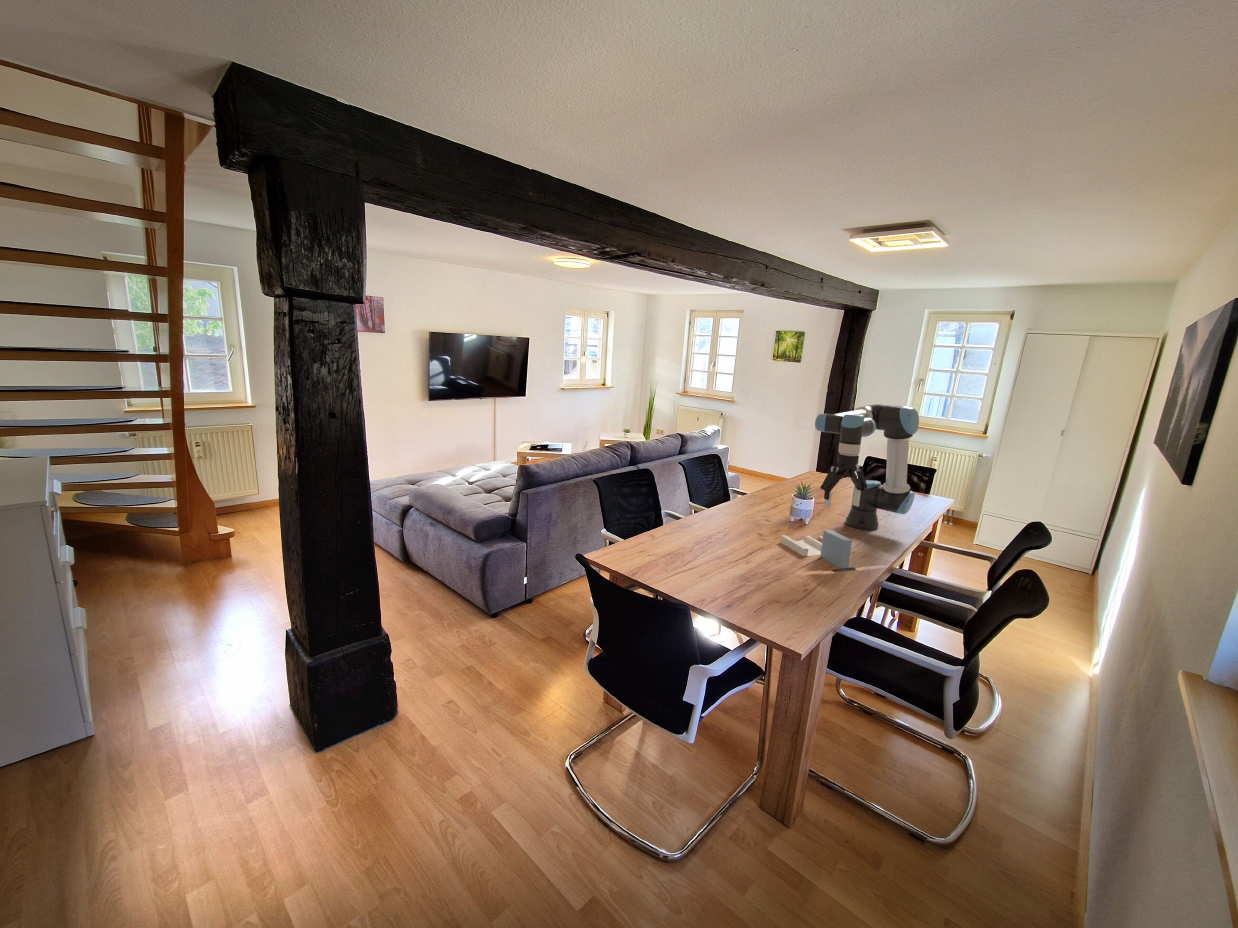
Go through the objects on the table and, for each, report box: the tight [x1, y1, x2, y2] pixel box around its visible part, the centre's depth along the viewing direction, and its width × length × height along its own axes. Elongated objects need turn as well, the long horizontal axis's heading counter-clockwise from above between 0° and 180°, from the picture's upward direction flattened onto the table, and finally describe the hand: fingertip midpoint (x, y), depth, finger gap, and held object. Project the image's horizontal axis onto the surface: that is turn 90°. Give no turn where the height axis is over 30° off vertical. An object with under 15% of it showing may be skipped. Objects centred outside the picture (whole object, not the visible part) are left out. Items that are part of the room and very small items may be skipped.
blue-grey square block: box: [820, 529, 853, 569], centre depth 198 cm, size 4×12×12 cm, turn 16°
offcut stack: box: [812, 535, 823, 543], centre depth 216 cm, size 6×14×3 cm, turn 16°
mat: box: [831, 567, 857, 574], centre depth 199 cm, size 10×14×1 cm
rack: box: [780, 531, 853, 557], centre depth 214 cm, size 24×16×4 cm, turn 106°
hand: (841, 506), depth 194 cm, fingers open, 13 cm apart
